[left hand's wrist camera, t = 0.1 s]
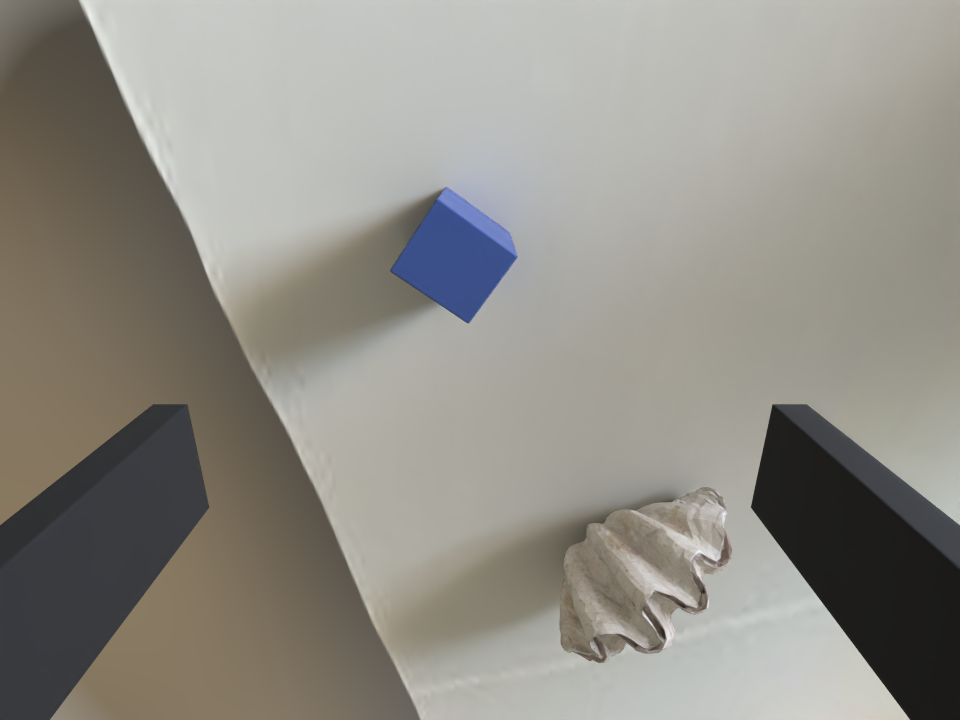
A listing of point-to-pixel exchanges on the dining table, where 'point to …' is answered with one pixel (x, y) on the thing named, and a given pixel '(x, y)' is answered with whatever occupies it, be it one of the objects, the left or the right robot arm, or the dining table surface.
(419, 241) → the brick
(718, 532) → the seashell
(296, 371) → the dining table surface
